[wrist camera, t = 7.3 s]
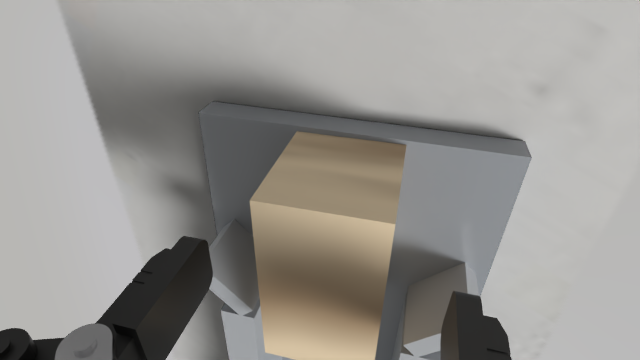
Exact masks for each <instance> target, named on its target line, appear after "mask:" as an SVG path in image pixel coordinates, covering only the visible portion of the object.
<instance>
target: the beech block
mask: <svg viewBox="0 0 640 360" xmlns="http://www.w3.org/2000/svg"><path fill="white" fill-rule="evenodd" d="M405 152H406V145H403V144H395V143H387V142H379V141H371V140H363V139H355V138H347V137H339V136H331V135H323V134H315V133H307V132H299V131H297V132H296V133H295V135H294V136H293V138H292V139H291V141H290V142H289V143H288V145H287V146H286V148H285V149H284V151H283V152H282V154H281V155H280V157H279V158H278V160H277V161H276V162H275V164H274V165H273V167H272V168H271V170H270V171H269V173H268V174H267V176H266V177H265V179H264V180H263V181H262V183H261V184H260V186H259V187H258V189H257V190H256V192H255V193H254V195H253V196H252V198H251V199H250V209H251V219H252V229H253V239H254V248H255V258H256V268H257V278H258V287H259V297H260V307H261V316H262V326H263V336H264V346H265V352H266V353H270V354H274V355H278V356H282V357H286V358H290V359H294V360H375V355H376V349H377V342H378V336H379V329H380V322H381V316H382V309H383V303H384V296H385V290H386V283H387V277H388V270H389V263H390V257H391V250H392V244H393V237H394V231H395V224H396V217H397V210H398V203H399V195H400V188H401V181H402V174H403V167H404V159H405Z"/></svg>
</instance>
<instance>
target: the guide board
mask: <svg viewBox="0 0 640 360" xmlns="http://www.w3.org/2000/svg"><path fill="white" fill-rule="evenodd" d="M198 114H199V121H200V127H201V134H202V140H203V147H204V153H205V160H206V167H207V173H208V180H209V186H210V193H211V199H212V206H213V212H214V219H215V226H216V232H217V237H216V238H215V240H214V241H213V243H212V244H211V246H210V247H209V253H210V258H211V264H212V269H213V278H212V282H211V285H210V288H209V289H210V290H211V291H212V292H213V293H214V294H215V295H217V296H218V297H219V298H220V299H221V300H222V301H224V302H225V304H224V306H223V308H222V309H221V315H222V320H223V326H224V332H225V338H226V344H227V350H228V356H229V360H294V359H290V358H286V357H282V356H278V355H274V354H270V353H266V352H265V346H264V336H263V326H262V316H261V307H260V297H259V287H258V278H257V268H256V258H255V248H254V239H253V229H252V219H251V209H250V199H251V198H252V196H253V195H254V193H255V192H256V190H257V189H258V187H259V186H260V184H261V183H262V181H263V180H264V179H265V177H266V176H267V174H268V173H269V171H270V170H271V168H272V167H273V165H274V164H275V162H276V161H277V160H278V158H279V157H280V155H281V154H282V152H283V151H284V149H285V148H286V146H287V145H288V143H289V142H290V141H291V139H292V138H293V136H294V135H295V133H296V132H297V131H299V132H307V133H315V134H323V135H331V136H339V137H347V138H355V139H363V140H371V141H379V142H387V143H395V144H403V145H406V152H405V159H404V167H403V174H402V181H401V188H400V195H399V203H398V210H397V217H396V224H395V231H394V237H393V244H392V250H391V257H390V263H389V270H388V277H387V283H386V290H385V296H384V303H383V309H382V316H381V322H380V329H379V336H378V342H377V349H376V355H375V360H440V339H441V329H442V324H443V320H444V317H445V314H446V311H447V308H448V304H449V301H450V298H451V295H452V292H453V291H458V292H463V293H468V294H473V295H478V296H480V295H481V293H482V290H483V287H484V285H485V282H486V279H487V277H488V274H489V271H490V269H491V266H492V263H493V260H494V258H495V255H496V252H497V250H498V247H499V244H500V242H501V239H502V236H503V233H504V231H505V228H506V225H507V223H508V220H509V217H510V215H511V212H512V209H513V206H514V204H515V201H516V198H517V196H518V193H519V190H520V188H521V185H522V182H523V180H524V177H525V174H526V171H527V169H528V166H529V163H530V161H531V158H532V157H531V155H530V152H529V150H528V147H527V145H526V143H525V141H519V140H511V139H503V138H496V137H488V136H480V135H472V134H464V133H456V132H449V131H441V130H433V129H425V128H417V127H409V126H402V125H394V124H386V123H378V122H370V121H362V120H355V119H347V118H339V117H331V116H323V115H315V114H308V113H300V112H292V111H284V110H276V109H268V108H261V107H253V106H245V105H237V104H229V103H221V102H211V103H210V104H209V105H207V106H206V107H205V108H204V109H202V110H201V111H200V112H199V113H198Z"/></svg>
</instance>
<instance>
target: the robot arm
mask: <svg viewBox="0 0 640 360" xmlns="http://www.w3.org/2000/svg"><path fill="white" fill-rule="evenodd" d="M212 278H213V269H212V264H211V258H210V253H209V247H208V243H207V241H206V240H202V239H197V238H192V237H187V236H183V237H182V238H180V239H179V241H178V242H177V243H176V244H175V246H174V247H173V248H172V249H164V250H162V251H161V252H159V253H158V254H156V255H155V256H153V257H152V258H151V259H150V260H149V261H148V262H147V263H146V265H145V266H144V267H143V268H142V269H141V272H140V273H138V274H137V275H136V277H135V278H134V279H133V281H132V283H130V284H129V285H128V286H127V287H126V288H125V289H124V291H123V292H122V293H121V294H120V295H119V297H118V298H117V299H116V300H115V301H114V303H113V304H112V305H111V306H110V307H109V308H108V310H107V311H106V312H105V313H104V314H103V316H102V317H101V318H100V319H99V320H98V321H97V322H96V323H95V324H88V325H85V326H82V327H80V328H78V329H76V330H74V331H72V332H71V333H70V334H68V335H67V336H66V337H65V338H55V339H42V340H32V339H31V337H30V336H29V334H28V333H27V332H26V331H25V330H23V329H18V328H11V329H6V330H3V331H0V360H165V359H166V358H167V356H168V355H169V353H170V351H171V350H172V348H173V347H174V345H175V343H176V342H177V340H178V338H179V337H180V335H181V334H182V332H183V330H184V329H185V327H186V325H187V324H188V322H189V321H190V319H191V317H192V316H193V314H194V313H195V311H196V309H197V308H198V306H199V304H200V303H201V301H202V300H203V298H204V296H205V295H206V293H207V291H208V290H209V288H210V285H211V282H212ZM440 360H511V357H510V348H509V342H508V336H507V334H506V332H505V331H504V329H503V327H502V326H501V324H500V322H499V321H498V319H497V318H493V317H488V316H483V311H482V302H481V298H480V296H478V295H473V294H468V293H463V292H458V291H453V292H452V295H451V298H450V301H449V304H448V308H447V311H446V314H445V317H444V320H443V324H442V329H441V339H440Z"/></svg>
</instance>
